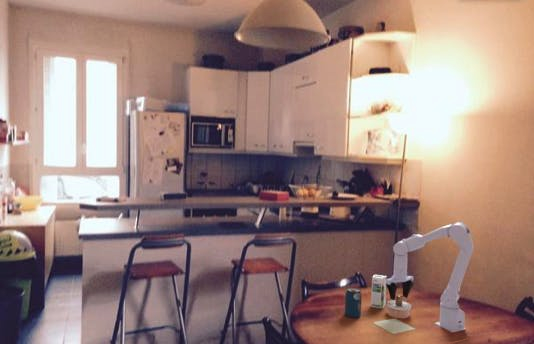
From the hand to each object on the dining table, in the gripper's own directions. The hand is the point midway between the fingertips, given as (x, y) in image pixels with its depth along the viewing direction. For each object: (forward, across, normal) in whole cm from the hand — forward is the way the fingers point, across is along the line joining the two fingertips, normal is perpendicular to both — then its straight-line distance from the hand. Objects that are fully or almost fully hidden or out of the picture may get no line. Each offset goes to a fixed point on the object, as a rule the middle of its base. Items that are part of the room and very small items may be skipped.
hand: (398, 298), depth 193 cm
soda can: (+8, +20, -7) cm, 23 cm away
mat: (+8, +11, +9) cm, 16 cm away
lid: (+4, 0, 0) cm, 4 cm away
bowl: (+8, 0, 0) cm, 8 cm away
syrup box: (+8, +1, -12) cm, 14 cm away
